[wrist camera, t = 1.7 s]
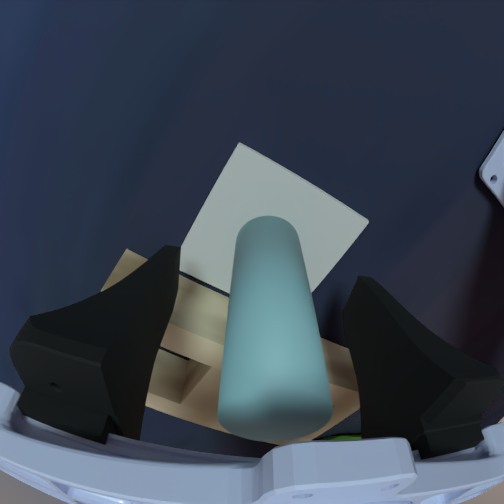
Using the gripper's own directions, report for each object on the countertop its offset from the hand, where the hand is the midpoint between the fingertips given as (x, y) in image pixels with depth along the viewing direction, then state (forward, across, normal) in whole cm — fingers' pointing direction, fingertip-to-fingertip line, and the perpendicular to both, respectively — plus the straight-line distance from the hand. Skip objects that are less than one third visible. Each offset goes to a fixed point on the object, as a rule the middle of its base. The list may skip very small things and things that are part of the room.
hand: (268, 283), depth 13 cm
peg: (+3, 0, 0) cm, 3 cm away
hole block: (+3, +1, +8) cm, 9 cm away
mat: (+3, 0, 0) cm, 3 cm away
